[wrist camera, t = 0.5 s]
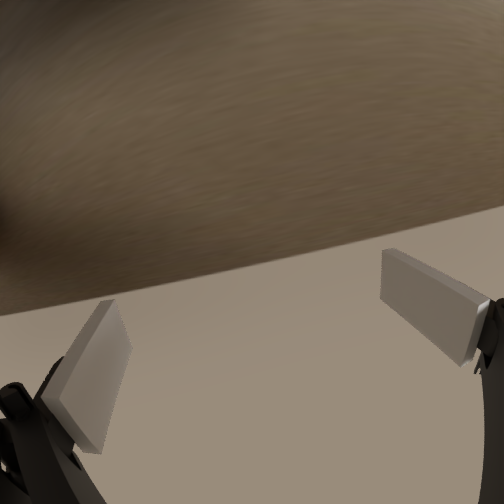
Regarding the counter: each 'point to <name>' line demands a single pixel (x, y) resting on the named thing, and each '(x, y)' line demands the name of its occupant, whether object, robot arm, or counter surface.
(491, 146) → the counter surface
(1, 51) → the counter surface
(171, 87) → the counter surface
